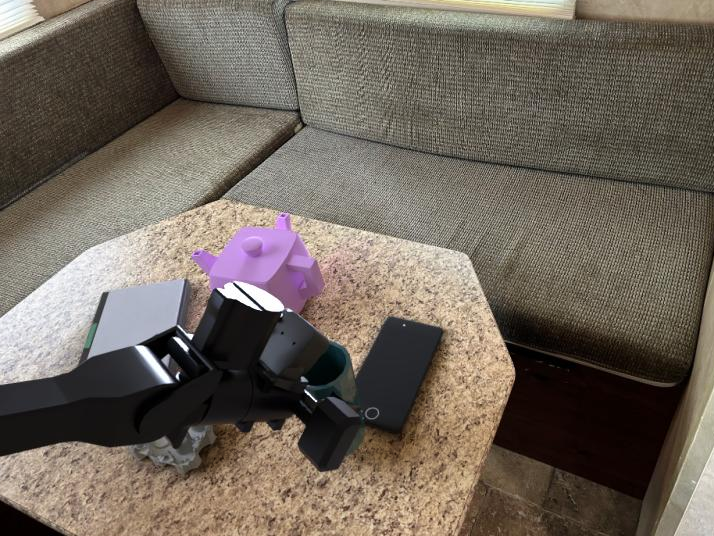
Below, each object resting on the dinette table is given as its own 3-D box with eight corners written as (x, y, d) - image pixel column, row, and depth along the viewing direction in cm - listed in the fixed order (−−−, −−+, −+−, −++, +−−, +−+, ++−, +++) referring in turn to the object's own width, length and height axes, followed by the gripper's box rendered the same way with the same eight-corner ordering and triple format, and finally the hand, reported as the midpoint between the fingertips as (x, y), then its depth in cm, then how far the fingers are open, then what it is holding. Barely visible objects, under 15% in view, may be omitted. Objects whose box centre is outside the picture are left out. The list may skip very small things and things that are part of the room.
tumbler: (310, 463, 71) (287, 394, 63) (309, 414, 76) (288, 345, 68) (367, 453, 71) (352, 384, 63) (363, 405, 77) (348, 336, 69)
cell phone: (337, 417, 79) (336, 413, 79) (388, 319, 92) (388, 315, 91) (400, 436, 76) (400, 431, 76) (444, 332, 89) (444, 327, 88)
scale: (75, 398, 86) (67, 386, 84) (107, 300, 101) (101, 289, 99) (175, 381, 86) (169, 369, 85) (191, 287, 102) (187, 275, 100)
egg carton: (123, 456, 78) (110, 439, 75) (161, 409, 83) (150, 390, 80) (190, 482, 74) (179, 464, 72) (225, 430, 79) (216, 412, 77)
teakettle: (237, 359, 89) (213, 299, 81) (203, 292, 100) (180, 234, 92) (340, 309, 95) (328, 249, 87) (297, 251, 106) (282, 194, 98)
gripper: (330, 373, 52) (427, 376, 64) (218, 274, 63) (320, 293, 75) (274, 484, 53) (380, 466, 65) (173, 367, 64) (281, 371, 76)
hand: (338, 392), depth 70 cm, fingers closed on tumbler, 7 cm apart
